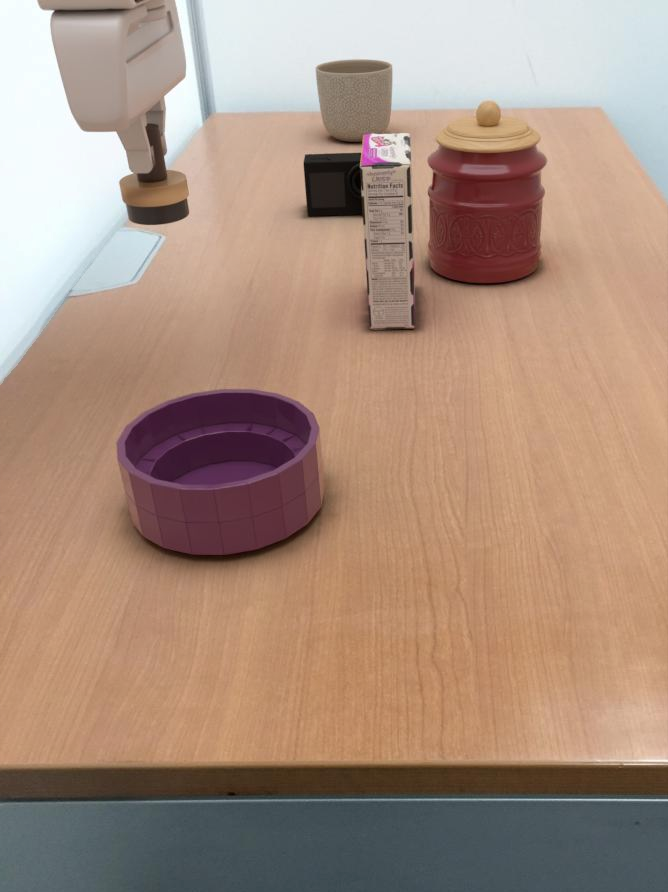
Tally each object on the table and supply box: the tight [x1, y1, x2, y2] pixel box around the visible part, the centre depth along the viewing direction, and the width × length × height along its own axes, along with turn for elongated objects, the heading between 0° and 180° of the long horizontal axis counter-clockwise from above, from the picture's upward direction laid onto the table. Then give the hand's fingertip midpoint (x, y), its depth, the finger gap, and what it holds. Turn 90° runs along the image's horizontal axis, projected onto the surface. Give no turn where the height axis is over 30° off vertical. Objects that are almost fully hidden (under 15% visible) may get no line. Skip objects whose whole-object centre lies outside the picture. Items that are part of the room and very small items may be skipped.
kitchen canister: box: [427, 100, 548, 284], centre depth 106 cm, size 13×13×18 cm
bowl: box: [115, 388, 326, 556], centre depth 70 cm, size 14×14×6 cm
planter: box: [315, 58, 393, 143], centre depth 157 cm, size 12×12×11 cm
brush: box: [118, 123, 190, 226], centre depth 78 cm, size 5×5×7 cm
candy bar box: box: [360, 132, 416, 331], centre depth 96 cm, size 11×5×16 cm, turn 0°
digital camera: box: [303, 152, 363, 217], centre depth 126 cm, size 10×5×7 cm, turn 92°
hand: (149, 164), depth 77 cm, fingers closed on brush, 2 cm apart
